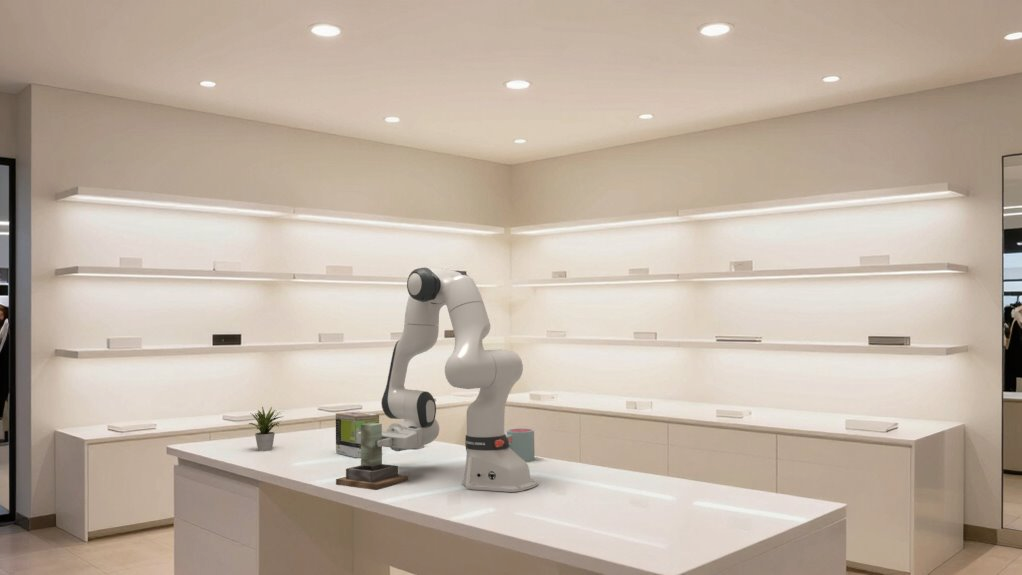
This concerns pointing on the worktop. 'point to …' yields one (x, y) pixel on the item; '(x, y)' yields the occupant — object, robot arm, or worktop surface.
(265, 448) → the house plant
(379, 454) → the green peg
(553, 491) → the worktop surface
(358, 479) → the display stand
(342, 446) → the tea box
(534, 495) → the worktop surface
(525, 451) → the mug
